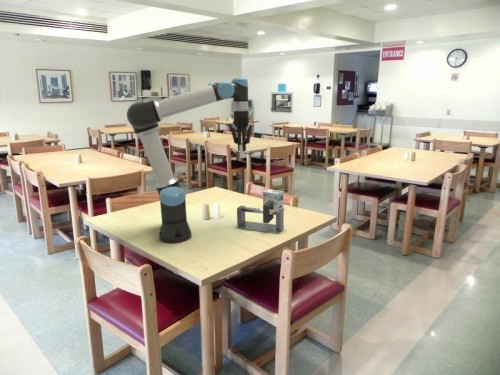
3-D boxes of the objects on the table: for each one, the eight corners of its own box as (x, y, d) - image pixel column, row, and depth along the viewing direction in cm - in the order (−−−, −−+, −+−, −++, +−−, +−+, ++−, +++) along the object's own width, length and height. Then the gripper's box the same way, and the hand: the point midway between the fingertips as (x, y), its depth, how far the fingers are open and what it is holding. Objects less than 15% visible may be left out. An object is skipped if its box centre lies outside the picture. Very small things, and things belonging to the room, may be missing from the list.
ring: (263, 222, 182) (262, 205, 179) (269, 217, 190) (268, 200, 187) (267, 223, 181) (267, 205, 178) (273, 217, 189) (273, 200, 187)
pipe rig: (235, 228, 188) (234, 208, 185) (243, 222, 197) (242, 203, 194) (279, 233, 179) (279, 213, 177) (284, 227, 188) (285, 207, 186)
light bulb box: (283, 208, 219) (284, 190, 216) (278, 211, 213) (278, 193, 211) (268, 206, 225) (268, 188, 222) (262, 209, 219) (262, 191, 216)
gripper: (225, 110, 183) (227, 158, 189) (250, 110, 179) (251, 159, 184) (232, 110, 190) (233, 155, 196) (255, 110, 185) (256, 156, 191)
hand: (242, 157), depth 190 cm, fingers closed
